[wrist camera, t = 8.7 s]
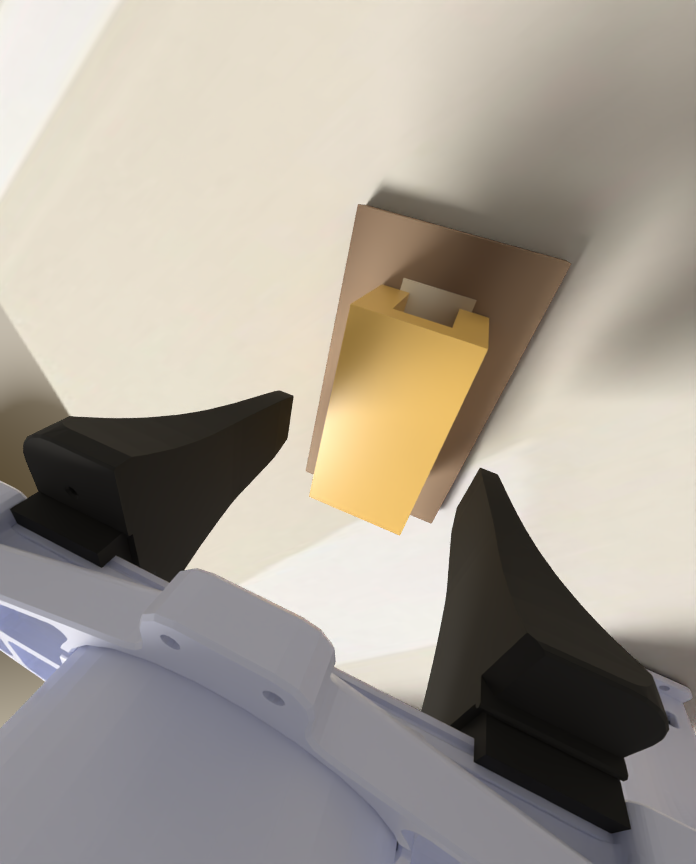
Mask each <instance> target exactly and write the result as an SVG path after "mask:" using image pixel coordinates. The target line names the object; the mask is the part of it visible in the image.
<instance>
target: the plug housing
mask: <svg viewBox="0 0 696 864" xmlns="http://www.w3.org/2000/svg"><path fill="white" fill-rule="evenodd" d="M408 296H409V293H408V292H405V291H402V290H399V289H395V288H392V287H389V286H386V285H383V284H382V285H380V286H378V287H377V288H375V289H374V290H372V291H370V292H369V293H367V294H366V295H364V296H362V297H361V298H359V299H358V300H356V301H354V302H353V303H351V304H350V309H349V313H348V318H347V323H346V327H345V332H344V337H343V341H342V346H341V351H340V355H339V360H338V364H337V369H336V374H335V378H334V383H333V388H332V392H331V397H330V402H329V406H328V411H327V416H326V420H325V425H324V429H323V434H322V439H321V443H320V448H319V453H318V457H317V462H316V467H315V471H314V476H313V481H312V485H311V490H310V494H309V497H311V498H314V499H316V500H318V501H321V502H323V503H325V504H328V505H330V506H332V507H335V508H337V509H339V510H342V511H344V512H346V513H349V514H351V515H353V516H356V517H358V518H360V519H362V520H365V521H367V522H369V523H372V524H374V525H376V526H379V527H381V528H383V529H386V530H388V531H390V532H393V533H395V534H397V535H400V534H401V532H402V530H403V528H404V526H405V524H406V522H407V520H408V517H409V515H410V513H411V511H412V509H413V507H414V505H415V503H416V501H417V498H418V496H419V494H420V492H421V490H422V488H423V486H424V484H425V482H426V479H427V477H428V475H429V473H430V471H431V469H432V467H433V465H434V463H435V460H436V458H437V456H438V454H439V452H440V450H441V448H442V446H443V444H444V441H445V439H446V437H447V435H448V433H449V431H450V429H451V427H452V425H453V422H454V420H455V418H456V416H457V414H458V412H459V410H460V408H461V406H462V403H463V401H464V399H465V397H466V395H467V393H468V391H469V389H470V386H471V384H472V382H473V380H474V378H475V376H476V374H477V372H478V370H479V367H480V365H481V363H482V361H483V359H484V357H485V355H486V353H487V351H488V341H489V318H488V317H485V316H482V315H478V314H475V313H472V312H469V311H466V310H462V309H459V312H458V314H457V317H456V319H455V322H454V324H453V327H452V328H451V327H448V326H445V325H442V324H439V323H435V322H432V321H429V320H426V319H423V318H420V317H417V316H414V315H411V314H408V313H405V312H404V310H405V306H406V303H407V300H408Z"/></svg>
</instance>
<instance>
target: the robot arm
mask: <svg viewBox="0 0 696 864" xmlns="http://www.w3.org/2000/svg"><path fill="white" fill-rule="evenodd" d="M292 403H293V396H292V395H290V394H287V393H285V392H282V391H274V392H271V393H267V394H264V395H260V396H257V397H254V398H250V399H247V400H244V401H240V402H237V403H233V404H229V405H225V406H221V407H217V408H213V409H209V410H204V411H199V412H193V413H187V414H180V415H171V416H160V417H149V418H92V417H73V416H69V417H67V418H65V419H63V420H61V421H59V422H57V423H54V424H52V425H50V426H48V427H46V428H44V429H42V430H40V431H38V432H36V433H34V434H32V435H30V436H28V437H27V438H26V440H25V441H24V445H23V453H24V456H25V459H26V462H27V465H28V467H29V470H30V472H31V474H32V477H33V479H34V482H35V484H36V486H37V489H38V491H39V492H37V493H35V494H34V495H32V496H31V497H29V498H27V497H26V496H25V495H24V494H23V493H22V492H20V491H19V490H17V489H16V488H14V487H12V486H10V485H8V484H6V483H4V482H2V481H0V650H1V651H2V652H4V653H5V654H6V655H8V656H9V657H11V658H12V659H14V660H15V661H16V662H18V663H19V664H21V665H23V666H24V667H25V668H27V669H28V670H29V671H31V672H32V673H34V674H35V675H37V676H38V677H39V678H41V679H42V680H44V681H45V682H44V684H43V685H42V686H41V687H40V688H39V689H38V690H37V691H36V692H35V693H34V694H33V695H32V696H31V697H30V698H29V699H28V700H27V701H26V702H25V703H24V704H23V705H22V706H21V707H20V708H19V710H18V711H17V712H16V713H15V714H14V715H13V716H12V717H11V718H10V719H9V720H8V721H7V722H6V723H5V724H4V725H3V726H2V727H1V728H0V864H696V735H695V733H694V730H693V728H692V725H691V722H690V720H689V717H688V715H687V712H686V710H685V707H684V704H683V703H684V702H687V701H689V700H691V699H692V698H693V695H692V693H691V691H690V689H689V688H687V687H686V686H684V685H681V684H679V683H677V682H675V681H672V680H670V679H668V678H666V677H663V676H661V675H659V674H656V673H654V672H652V671H650V670H647V669H645V668H644V667H643V666H642V665H641V664H640V663H639V662H638V661H637V660H636V659H634V658H633V657H632V656H631V655H630V654H629V653H628V652H627V651H626V650H625V649H624V648H623V647H622V646H620V645H619V644H618V643H617V642H616V641H615V640H614V639H613V638H612V637H611V636H610V635H609V634H608V633H607V632H606V631H605V630H604V629H603V628H602V627H601V626H600V625H599V624H598V623H597V621H596V620H595V619H594V618H593V617H592V616H591V615H590V614H589V613H588V612H587V611H586V610H585V609H584V607H583V606H582V605H581V604H580V603H579V602H578V601H577V600H576V598H575V597H574V596H573V595H572V594H571V592H570V591H569V590H568V589H567V588H566V586H565V585H564V584H563V583H562V582H561V580H560V579H559V578H558V576H557V575H556V574H555V573H554V571H553V570H552V568H551V567H550V566H549V564H548V563H547V562H546V560H545V559H544V557H543V556H542V555H541V553H540V552H539V550H538V549H537V547H536V546H535V544H534V542H533V541H532V539H531V537H530V536H529V534H528V532H527V531H526V529H525V527H524V526H523V524H522V522H521V520H520V518H519V516H518V515H517V513H516V511H515V509H514V507H513V505H512V503H511V501H510V499H509V497H508V495H507V493H506V491H505V488H504V486H503V484H502V482H501V480H500V478H499V476H498V474H495V473H493V472H490V471H487V470H485V469H482V468H480V469H479V471H478V472H477V474H476V476H475V477H474V479H473V481H472V483H471V484H470V486H469V488H468V490H467V491H466V493H465V495H464V496H463V498H462V500H461V502H460V503H459V505H458V507H457V510H456V514H455V518H454V523H453V528H452V533H451V544H450V557H449V570H448V583H447V593H446V601H445V606H444V611H443V617H442V622H441V627H440V632H439V637H438V642H437V646H436V651H435V656H434V660H433V665H432V669H431V673H430V678H429V682H428V687H427V691H426V695H425V699H424V703H423V707H422V711H419V710H417V709H416V708H414V707H412V706H410V705H408V704H406V703H404V702H402V701H400V700H398V699H396V698H394V697H392V696H390V695H388V694H386V693H384V692H382V691H380V690H378V689H376V688H374V687H372V686H370V685H369V684H367V683H365V682H363V681H361V680H359V679H357V678H355V677H353V676H351V675H349V674H347V673H345V672H343V671H341V670H339V669H337V668H335V667H334V665H335V662H336V661H335V650H334V647H333V645H332V643H331V642H330V640H329V639H328V638H327V637H326V635H325V634H324V633H323V632H322V630H321V629H319V628H318V627H316V626H315V625H313V624H312V623H310V622H309V621H307V620H306V619H304V618H303V617H301V616H299V615H297V614H295V613H293V612H291V611H289V610H287V609H285V608H283V607H281V606H279V605H277V604H275V603H273V602H271V601H269V600H267V599H265V598H263V597H261V596H259V595H256V594H254V593H252V592H250V591H248V590H246V589H244V588H242V587H240V586H238V585H236V584H234V583H232V582H230V581H228V580H226V579H224V578H222V577H220V576H218V575H216V574H214V573H210V572H207V571H204V570H201V569H198V568H197V569H189V570H184V569H185V568H186V566H187V565H188V563H189V562H190V561H191V559H192V558H193V556H194V555H195V553H196V552H197V550H198V549H199V547H200V546H201V544H202V543H203V541H204V540H205V539H206V537H207V536H208V534H209V533H210V532H211V530H212V529H213V527H214V526H215V525H216V523H217V522H218V521H219V519H220V518H221V517H222V515H223V514H224V513H225V511H226V510H227V509H228V507H229V506H230V505H231V503H232V502H233V501H234V500H235V499H236V498H237V497H238V495H239V494H240V493H241V492H242V491H243V490H244V489H245V488H246V487H247V486H248V485H249V484H250V483H251V482H252V481H253V480H254V479H255V477H256V476H257V475H258V474H259V473H260V472H261V471H262V470H263V469H264V468H265V467H266V466H267V465H268V464H269V463H270V461H271V460H272V459H273V458H274V457H275V456H276V454H277V453H278V451H279V450H280V449H281V447H282V446H283V444H284V443H285V441H286V440H287V438H288V431H289V424H290V417H291V410H292Z"/></svg>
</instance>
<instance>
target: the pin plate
mask: <svg viewBox="0 0 696 864" xmlns="http://www.w3.org/2000/svg"><path fill="white" fill-rule="evenodd" d="M570 265H571V263H569V262H568V261H565V260H562V259H558V258H555V257H551V256H547V255H544V254H540V253H537V252H533V251H529V250H526V249H522V248H519V247H515V246H512V245H508V244H504V243H501V242H497V241H494V240H490V239H486V238H483V237H479V236H476V235H472V234H468V233H465V232H461V231H458V230H454V229H450V228H447V227H443V226H440V225H436V224H432V223H429V222H425V221H422V220H418V219H415V218H411V217H407V216H404V215H400V214H397V213H393V212H389V211H386V210H382V209H379V208H375V207H371V206H368V205H361V204H358V207H357V212H356V217H355V222H354V227H353V232H352V237H351V242H350V248H349V253H348V258H347V263H346V268H345V273H344V278H343V283H342V288H341V293H340V299H339V304H338V309H337V314H336V319H335V324H334V329H333V334H332V339H331V344H330V350H329V355H328V360H327V365H326V370H325V375H324V380H323V385H322V390H321V396H320V401H319V406H318V411H317V416H316V421H315V426H314V431H313V436H312V441H311V447H310V452H309V457H308V462H307V467H306V471H307V472H309V473H311V474H314V471H315V467H316V462H317V457H318V453H319V448H320V443H321V439H322V434H323V429H324V425H325V420H326V416H327V411H328V406H329V402H330V397H331V392H332V388H333V383H334V378H335V374H336V369H337V364H338V360H339V355H340V351H341V346H342V341H343V337H344V332H345V327H346V323H347V318H348V313H349V309H350V304H351V303H353V302H354V301H356V300H358V299H359V298H361V297H362V296H364V295H366V294H367V293H369V292H370V291H372V290H374V289H375V288H377V287H378V286H380V285H382V284H383V285H386V286H389V287H392V288H395V289H399V290H402V291H405V292H408V293H409V296H408V300H407V303H406V306H405V310H404V312H405V313H408V314H411V315H414V316H417V317H420V318H423V319H426V320H429V321H432V322H435V323H439V324H442V325H445V326H448V327H451V328H452V327H453V324H454V322H455V319H456V317H457V314H458V312H459V309H462V310H466V311H469V312H472V313H475V314H478V315H482V316H485V317H488V318H489V341H488V351H487V353H486V355H485V357H484V359H483V361H482V363H481V365H480V367H479V370H478V372H477V374H476V376H475V378H474V380H473V382H472V384H471V386H470V389H469V391H468V393H467V395H466V397H465V399H464V401H463V403H462V406H461V408H460V410H459V412H458V414H457V416H456V418H455V420H454V422H453V425H452V427H451V429H450V431H449V433H448V435H447V437H446V439H445V441H444V444H443V446H442V448H441V450H440V452H439V454H438V456H437V458H436V460H435V463H434V465H433V467H432V469H431V471H430V473H429V475H428V477H427V479H426V482H425V484H424V486H423V488H422V490H421V492H420V494H419V496H418V498H417V501H416V503H415V505H414V507H413V509H412V511H411V513H410V515H412V516H414V517H417V518H419V519H421V520H424V521H426V522H429V523H432V522H433V520H434V518H435V516H436V514H437V512H438V510H439V509H440V507H441V505H442V503H443V501H444V499H445V497H446V496H447V494H448V492H449V490H450V488H451V486H452V484H453V483H454V481H455V479H456V477H457V475H458V473H459V471H460V470H461V468H462V466H463V464H464V462H465V460H466V458H467V457H468V455H469V453H470V451H471V449H472V447H473V445H474V444H475V442H476V440H477V438H478V436H479V434H480V432H481V431H482V429H483V427H484V425H485V423H486V421H487V420H488V418H489V416H490V414H491V412H492V410H493V408H494V407H495V405H496V403H497V401H498V399H499V397H500V395H501V394H502V392H503V390H504V388H505V386H506V384H507V382H508V381H509V379H510V377H511V375H512V373H513V371H514V369H515V368H516V366H517V364H518V362H519V360H520V358H521V356H522V355H523V353H524V351H525V349H526V347H527V345H528V343H529V342H530V340H531V338H532V336H533V334H534V332H535V330H536V329H537V327H538V325H539V323H540V321H541V319H542V317H543V316H544V314H545V312H546V310H547V308H548V306H549V304H550V303H551V301H552V299H553V297H554V295H555V293H556V291H557V290H558V288H559V286H560V284H561V282H562V280H563V278H564V277H565V275H566V273H567V271H568V269H569V267H570Z"/></svg>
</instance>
